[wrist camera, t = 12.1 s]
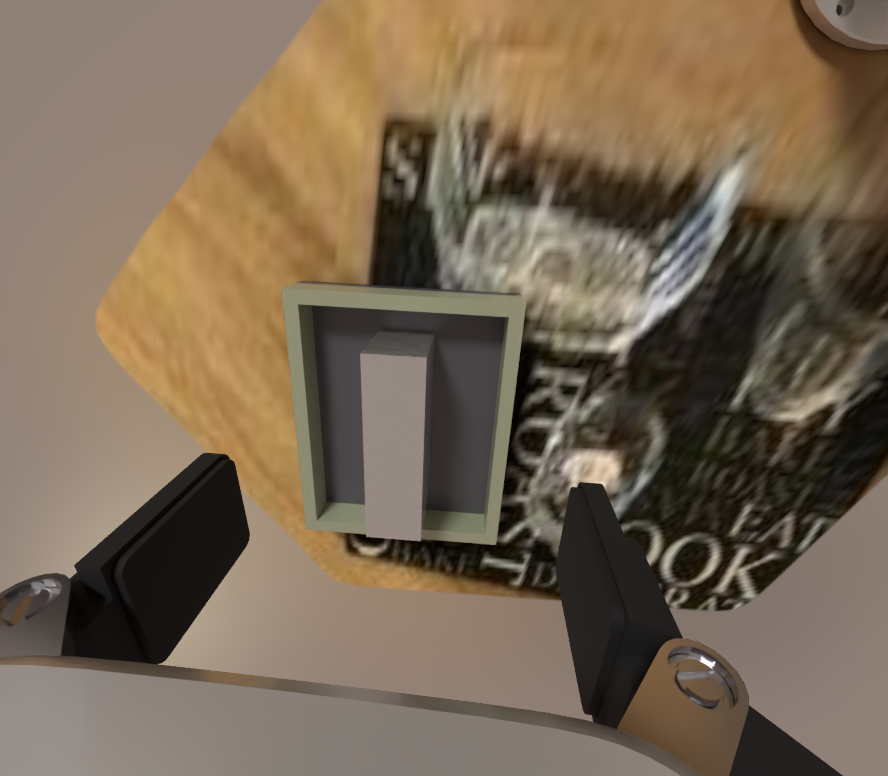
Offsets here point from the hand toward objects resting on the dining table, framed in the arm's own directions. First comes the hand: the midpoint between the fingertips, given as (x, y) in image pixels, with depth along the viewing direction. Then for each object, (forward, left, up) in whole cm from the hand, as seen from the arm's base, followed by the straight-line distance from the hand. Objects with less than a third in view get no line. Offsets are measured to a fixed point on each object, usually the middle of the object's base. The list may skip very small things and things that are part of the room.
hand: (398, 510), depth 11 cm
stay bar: (+3, +7, -20) cm, 21 cm away
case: (+3, +7, -21) cm, 22 cm away
